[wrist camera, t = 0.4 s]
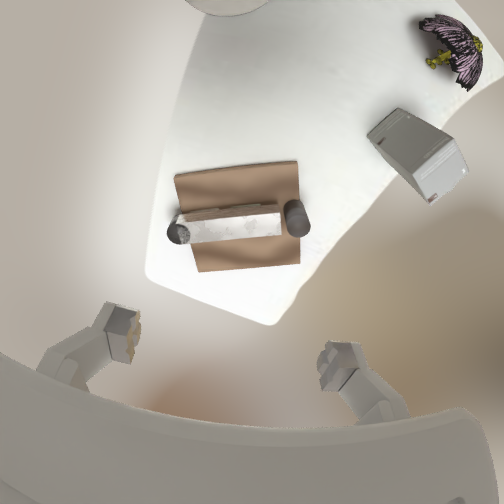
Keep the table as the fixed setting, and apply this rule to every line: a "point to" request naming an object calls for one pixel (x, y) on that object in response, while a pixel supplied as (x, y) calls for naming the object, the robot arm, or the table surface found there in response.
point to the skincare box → (420, 154)
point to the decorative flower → (456, 48)
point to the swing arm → (225, 224)
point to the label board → (245, 195)
